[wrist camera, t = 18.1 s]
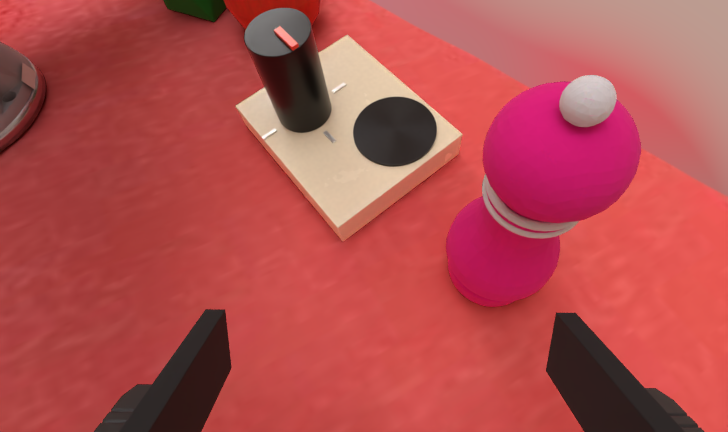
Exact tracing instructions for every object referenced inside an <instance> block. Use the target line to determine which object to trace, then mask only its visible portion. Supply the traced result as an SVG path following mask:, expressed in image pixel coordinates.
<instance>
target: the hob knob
mask: <svg viewBox="0 0 728 432" xmlns="http://www.w3.org/2000/svg"><path fill="white" fill-rule="evenodd" d="M244 41H245V44H246V46H247V49H248V51H249V53H250V55H251V58H252V60H253V62H254V64H255V67H256V69H257V71H258V73H259V76H260V78H261V80H262V82H263V85H264V87H265V89H266V91H267V94H268V96H269V98H270V100H271V103H272V105H273V107H274V109H275V112H276V114H277V116H278V118H279V121H280V122H281V124H282V125H283V126H284V127H285V128H286V129H288V130H290V131H293V132H297V133H305V132H310V131H313V130H316V129H318V128H319V127H321V126H322V125H323V124H324V123H325V122H326V121H327V120H328V118H329V117H330V114H331V109H332V107H331V102H330V98H329V94H328V90H327V86H326V82H325V78H324V74H323V70H322V66H321V62H320V58H319V54H318V50H317V46H316V42H315V38H314V34H313V30H312V26H311V22H310V20H309V18H308V17H307V16H306V15H305V14H304V13H303V12H301V11H299V10H296V9H293V8H276V9H271V10H268V11H266V12H263V13H262V14H260V15H258V16H257V17H255V18H254V19H253V20H252V21H251V22H250V23H249V25H248V26H247V28H246V30H245V34H244Z"/></svg>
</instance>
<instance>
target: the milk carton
mask: <svg viewBox="0 0 728 432" xmlns="http://www.w3.org/2000/svg"><path fill="white" fill-rule="evenodd" d="M163 1H164V3H165V5H166V7H167V8H168V9H170V10H174V11H177V12H181V13H184V14H188V15H191V16H195V17H198V18H202V19H205V20H209V21H212V22H215V21H216V20H217V18H218V17H219V16H220V15H221V14H222V12H223V11H224V10H225V9H226V5H225V2H224V0H163Z"/></svg>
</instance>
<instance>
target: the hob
mask: <svg viewBox="0 0 728 432" xmlns="http://www.w3.org/2000/svg"><path fill="white" fill-rule="evenodd" d="M318 54H319V58H320V62H321V66H322V70H323V74H324V78H325V82H326V86H327V90H328V94H329V98H330V102H331V107H332V109H331V114H330V117H329V118H328V120H327V121H326V122H325V123H324V124H323V125H322V126H321V127H319V128H318V129H316V130H313V131H310V132H305V133H297V132H293V131H290V130H288V129H286V128H285V127H284V126H283V125H282V124H281V122H280V121H279V118H278V116H277V114H276V112H275V109H274V107H273V105H272V103H271V100H270V98H269V96H268V94H267V91H266V89H265V87H264V88H262V89H261V90H259V91H258V92H256V93H254V94H253V95H251V96H250V97H248V98H247V99H245V100H243V101H242V102H240V103H239V104H237V105H236V106H235V107H236V109H237V110H238V112H239V114H240V116H241V117H242V119H243V121H244V123H245V124H246V126H247V127H248V128H249V130H250V131H251V132H252V133H253V134H254V136H255V137H256V138H257V139H258V140H259V142H260V143H261V144H262V145H263V146H264V148H265V149H266V150H267V151H268V152H269V154H270V155H271V156H272V157H273V158H274V160H275V161H276V162H277V163H278V164H279V166H280V167H281V168H282V169H283V170H284V172H285V173H286V174H287V175H288V177H289V178H290V179H291V180H292V181H293V183H294V184H295V185H296V186H297V187H298V189H299V190H300V191H301V192H302V193H303V195H304V196H305V197H306V198H307V199H308V201H309V202H310V203H311V204H312V205H313V207H314V208H315V209H316V210H317V211H318V213H319V214H320V215H321V216H322V217H323V219H324V220H325V221H326V222H327V223H328V225H329V226H330V227H331V228H332V229H333V231H334V232H335V233H336V234H337V235H338V237H339V238H340V239H341V240H342V241H345V240H346V239H348V238H349V237H350V236H351V235H353V234H354V233H355V232H357V231H358V230H359V229H361V228H362V227H363V226H365V225H366V224H367V223H369V222H370V221H371V220H373V219H374V218H375V217H377V216H378V215H379V214H380V213H382V212H383V211H384V210H386V209H387V208H388V207H390V206H391V205H392V204H394V203H395V202H396V201H398V200H399V199H400V198H402V197H403V196H404V195H406V194H407V193H408V192H409V191H411V190H412V189H413V188H415V187H416V186H417V185H419V184H420V183H421V182H423V181H424V180H425V179H427V178H428V177H429V176H431V175H432V174H433V173H435V172H436V171H437V170H438V169H440V168H441V167H442V166H444V165H445V164H446V163H448V162H449V161H450V160H452V159H453V158H454V157H456V156H457V155H458V154H459V150H460V145H461V140H462V133H461V132H459V131H458V130H457V129H456V128H455V127H454V126H452V125H451V124H450V123H449V122H448V121H447V120H446V119H444V118H443V117H442V116H441V115H440V114H439V113H437V112H436V111H435V110H434V109H433V108H432V107H430V106H429V105H428V104H427V103H426V102H425V101H424V100H422V99H421V98H420V97H419V96H418V95H417V94H415V93H414V92H413V91H412V90H411V89H410V88H408V87H407V86H406V85H405V84H404V83H403V82H402V81H400V80H399V79H398V78H397V77H396V76H395V75H393V74H392V73H391V72H390V71H389V70H388V69H386V68H385V67H384V66H383V65H382V64H381V63H380V62H378V61H377V60H376V59H375V58H374V57H373V56H371V55H370V54H369V53H368V52H367V51H366V50H364V49H363V48H362V47H361V46H360V45H359V44H358V43H356V42H355V41H354V40H353V39H352V38H351V37H349V36H348V35H346V36H344V37H343V38H341V39H339V40H338V41H336V42H335V43H333V44H332V45H330V46H328V47H327V48H325V49H324V50H322V51H321V52H319V53H318ZM387 97H406V98H410V99H414V100H416V101H418V102H420V103H422V104H423V105H424V106H426V107H427V108H428V109H429V110H430V112H431V113H432V114H433V116H434V118H435V121H436V125H437V134H436V139H435V142H434V144H433V146H432V148H431V149H430V151H429V152H428V153H427V154H426V155H425V156H423V157H422V158H421V159H419V160H418V161H416V162H413V163H411V164H408V165H404V166H397V167H390V166H383V165H379V164H376V163H374V162H372V161H370V160H369V159H367V158H366V157H365V156H363V155H362V154H361V152H360V151H359V150H358V148H357V147H356V144H355V141H354V137H353V127H354V123H355V121H356V119H357V117H358V115H359V114H360V113H361V111H362V110H363V109H364V108H365V107H367V106H368V105H369V104H371V103H373V102H375V101H377V100H380V99H382V98H387Z"/></svg>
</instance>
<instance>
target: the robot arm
mask: <svg viewBox="0 0 728 432" xmlns="http://www.w3.org/2000/svg"><path fill="white" fill-rule="evenodd" d="M45 93H46V83H45V78H44V76H43V74H42V72H41V71H40V70H39V69H38V67H36V66H35V65H34V64H33V63H32V62H31V61H30V60H29V59H28V58H27V57H25V56H24V55H23V54H21V53H19V52H18V51H17V50H15V49H13V48H11V47H9V46H7V45H5V44H3V43H2V42H0V152H1V151H2V150H4V149H5V148H7V147H8V146H9V145H11V144H12V143H13V142H14V141H15V140H16V139H18V138H19V137H20V136H21V135H22V134H23V133H24V132H25V131H26V130H27V128H28V127H29V126H30V125H31V124H32V122H33V121H34V119H35V118H36V116H37V115H38V113H39V111H40V109H41V107H42V104H43V102H44V98H45ZM230 370H231V359H230V350H229V341H228V332H227V323H226V314H225V310H207V309H206V310H205V311H204V313H203V314H202V315H201V317H200V318H199V320H198V321H197V322H196V324H195V325H194V327H193V328H192V329H191V331H190V332H189V334H188V335H187V336H186V338H185V339H184V341H183V342H182V343H181V345H180V346H179V348H178V349H177V350H176V352H175V353H174V355H173V356H172V357H171V359H170V360H169V362H168V363H167V364H166V366H165V367H164V369H163V370H162V371H161V373H160V374H159V376H158V377H157V378H156V380H155V381H154V383H153V384H152V385H148V384H137V385H136V386H135V387H133V388H132V389H131V390H129V391H128V392H127V393H125V394H124V395H123V396H122V397H121V398H120V399H119V400H118V402H117V403H116V404H115V405H114V407H113V408H112V409H111V412H109V413H108V414H107V416H106V417H105V418H104V419H103V422H102V423H100V425H99V426H98V427H97V428H96V430H95V431H94V432H201V431H202V429H203V427H204V424H205V422H206V420H207V418H208V416H209V414H210V412H211V410H212V408H213V406H214V403H215V401H216V399H217V397H218V395H219V393H220V391H221V389H222V387H223V385H224V382H225V380H226V378H227V376H228V374H229V372H230ZM546 372H547V373H548V375H549V376H550V378H551V380H552V381H553V383H554V384H555V386H556V387H557V389H558V391H559V392H560V394H561V395H562V397H563V399H564V400H565V402H566V403H567V405H568V406H569V408H570V410H571V411H572V413H573V414H574V416H575V418H576V419H577V421H578V422H579V424H580V425H581V427H582V429H583V430H584V432H704V431H703V430H702V429H701V428H698V425H697V424H696V423H695V422H694V421H693V420H692V419H691V418H690V417H689V416H687V413H686V412H685V411H684V410H683V409H682V408H681V407H680V406H679V405H678V404H677V403H676V402H675V401H674V400H672V399H671V398H669V397H668V396H666V395H665V394H663V393H662V392H660V391H659V390H657V389H656V388H644V387H643V386H642V385H641V384H640V382H639V381H638V380H637V379H636V378H635V377H634V376H633V375H632V374H631V373H630V372H629V370H628V369H627V368H626V367H625V366H624V365H623V364H622V363H621V362H620V361H619V360H618V359H617V357H616V356H615V355H614V354H613V353H612V352H611V351H610V350H609V349H608V348H607V347H606V345H605V344H604V343H603V342H602V341H601V340H600V339H599V338H598V337H597V336H596V335H595V334H594V332H593V331H592V330H591V329H590V328H589V327H588V326H587V325H586V324H585V323H584V322H583V321H582V319H581V318H580V317H579V316H578V315H577V314H576V313H556V317H555V322H554V328H553V334H552V339H551V345H550V351H549V357H548V362H547V368H546Z"/></svg>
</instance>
